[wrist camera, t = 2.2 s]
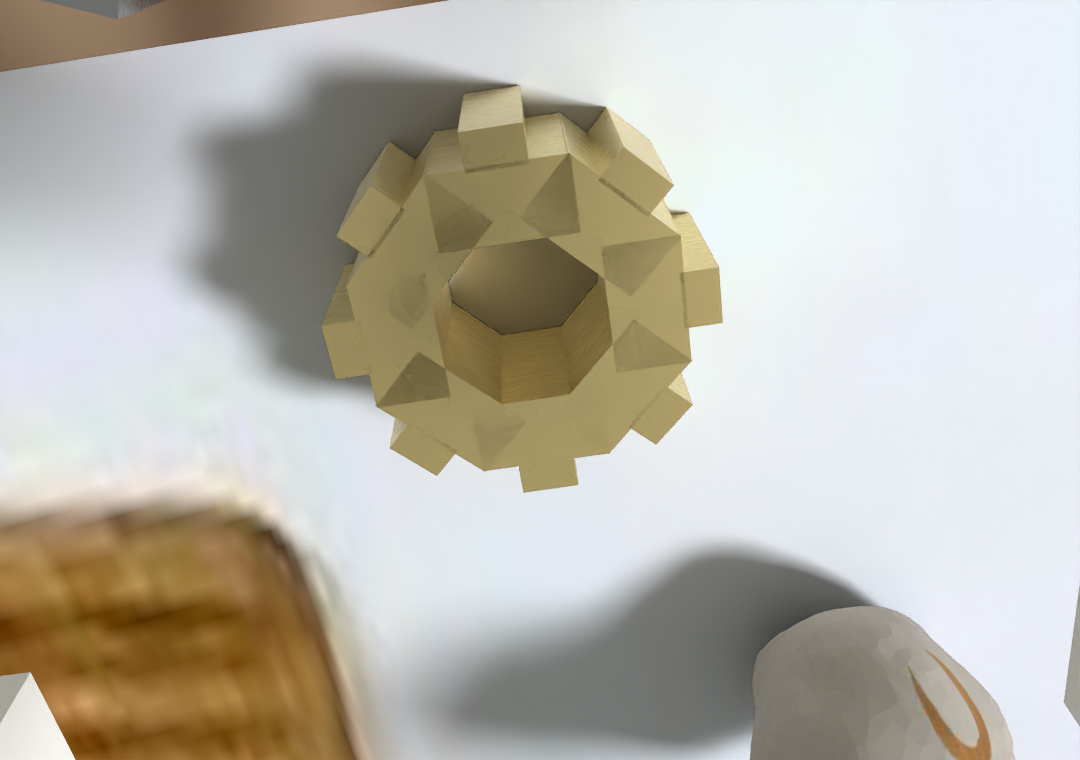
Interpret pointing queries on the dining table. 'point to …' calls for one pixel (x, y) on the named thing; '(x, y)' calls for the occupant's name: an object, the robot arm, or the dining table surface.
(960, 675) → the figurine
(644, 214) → the brass gear
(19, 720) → the robot arm
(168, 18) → the board
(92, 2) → the grey gear
